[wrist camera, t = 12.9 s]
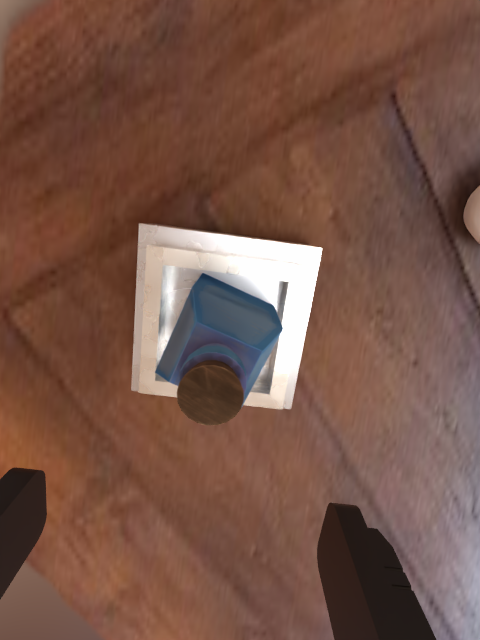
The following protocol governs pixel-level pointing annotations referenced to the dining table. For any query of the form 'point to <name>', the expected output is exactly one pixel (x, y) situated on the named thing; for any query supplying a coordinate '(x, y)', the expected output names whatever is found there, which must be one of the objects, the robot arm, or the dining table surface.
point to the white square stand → (231, 268)
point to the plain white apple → (473, 214)
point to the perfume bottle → (218, 349)
